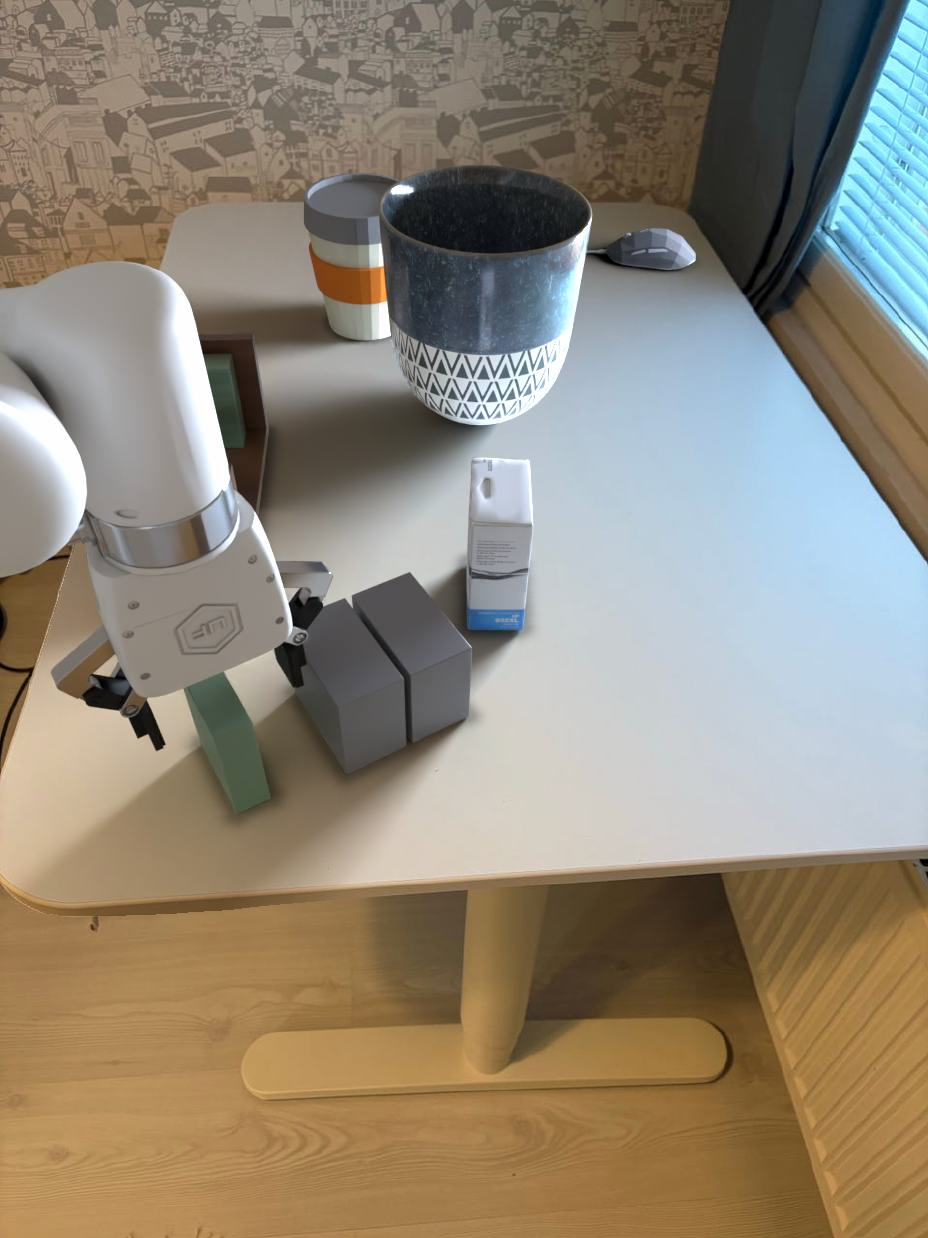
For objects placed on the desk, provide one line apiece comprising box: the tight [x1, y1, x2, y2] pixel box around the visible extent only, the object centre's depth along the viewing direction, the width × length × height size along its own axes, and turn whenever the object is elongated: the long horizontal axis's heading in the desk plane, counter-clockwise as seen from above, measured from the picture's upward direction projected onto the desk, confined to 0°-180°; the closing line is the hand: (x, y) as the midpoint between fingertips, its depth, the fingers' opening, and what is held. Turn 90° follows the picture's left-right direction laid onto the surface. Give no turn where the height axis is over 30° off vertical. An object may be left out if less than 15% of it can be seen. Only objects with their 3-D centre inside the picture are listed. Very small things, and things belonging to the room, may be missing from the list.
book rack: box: [198, 332, 270, 518], centre depth 83 cm, size 21×11×11 cm, turn 4°
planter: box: [378, 164, 593, 426], centre depth 91 cm, size 20×20×21 cm
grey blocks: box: [294, 571, 473, 776], centre depth 68 cm, size 10×9×8 cm
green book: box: [182, 671, 272, 815], centre depth 63 cm, size 3×7×9 cm, turn 32°
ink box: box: [466, 456, 534, 631], centre depth 75 cm, size 8×5×12 cm, turn 179°
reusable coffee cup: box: [303, 172, 401, 341], centre depth 105 cm, size 13×13×15 cm
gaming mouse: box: [586, 227, 697, 271], centre depth 122 cm, size 6×15×4 cm, turn 82°
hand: (224, 703), depth 61 cm, fingers open, 9 cm apart
